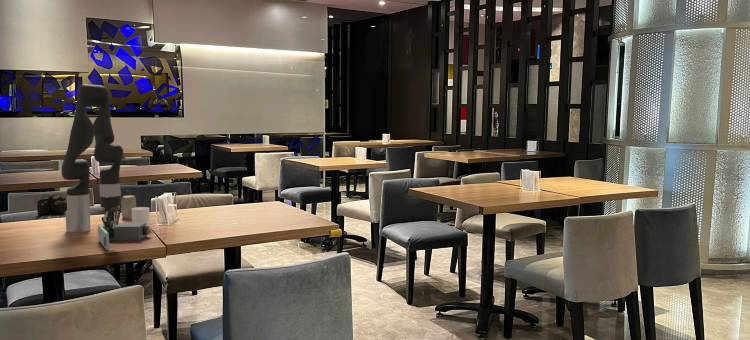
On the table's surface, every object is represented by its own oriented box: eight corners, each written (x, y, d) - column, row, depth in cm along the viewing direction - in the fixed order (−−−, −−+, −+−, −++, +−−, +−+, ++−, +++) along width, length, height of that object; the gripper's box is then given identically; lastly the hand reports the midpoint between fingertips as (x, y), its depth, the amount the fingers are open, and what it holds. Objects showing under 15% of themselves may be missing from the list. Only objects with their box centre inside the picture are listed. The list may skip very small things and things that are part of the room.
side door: (96, 240, 239) (95, 225, 238) (100, 239, 240) (100, 224, 239) (104, 250, 221) (103, 233, 221) (109, 249, 222) (108, 233, 222)
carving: (139, 218, 293) (138, 195, 292) (127, 220, 286) (126, 197, 285) (131, 217, 296) (130, 194, 295) (118, 219, 289) (118, 196, 288)
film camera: (57, 216, 299) (56, 197, 298) (34, 215, 299) (33, 197, 298) (75, 210, 316) (74, 192, 315) (53, 210, 316) (52, 192, 315)
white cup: (132, 231, 260) (132, 210, 259) (131, 228, 267) (130, 207, 266) (151, 230, 263) (150, 209, 262) (149, 227, 270) (148, 206, 269)
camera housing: (101, 240, 240) (100, 225, 240) (109, 236, 249) (109, 221, 249) (142, 240, 241) (142, 225, 240) (149, 236, 250) (149, 221, 249)
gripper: (107, 192, 230) (109, 233, 232) (93, 197, 217) (95, 241, 219) (126, 192, 231) (128, 233, 233) (113, 197, 218) (114, 241, 219)
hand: (112, 237), depth 226 cm, fingers closed
